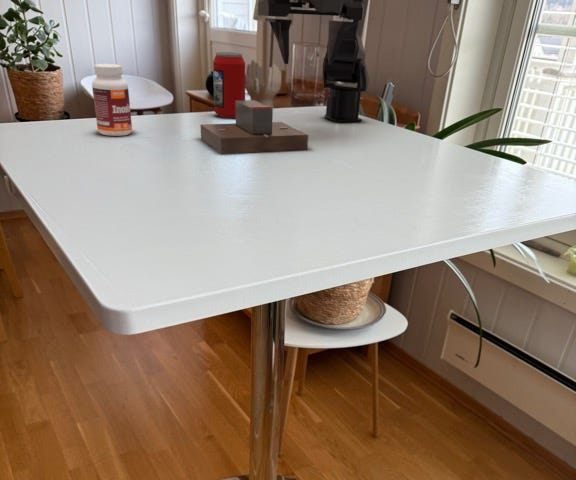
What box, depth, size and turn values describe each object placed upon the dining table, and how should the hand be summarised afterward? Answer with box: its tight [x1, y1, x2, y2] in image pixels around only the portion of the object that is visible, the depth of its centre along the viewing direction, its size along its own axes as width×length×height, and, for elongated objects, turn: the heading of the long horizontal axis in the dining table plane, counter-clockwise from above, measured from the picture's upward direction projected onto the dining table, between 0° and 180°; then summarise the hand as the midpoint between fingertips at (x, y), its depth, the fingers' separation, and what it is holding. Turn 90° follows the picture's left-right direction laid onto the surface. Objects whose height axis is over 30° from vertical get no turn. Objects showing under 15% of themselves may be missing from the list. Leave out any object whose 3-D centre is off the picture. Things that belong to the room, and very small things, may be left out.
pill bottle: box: [91, 63, 133, 137], centre depth 101 cm, size 6×6×11 cm
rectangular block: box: [235, 99, 274, 134], centre depth 99 cm, size 9×4×4 cm, turn 23°
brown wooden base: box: [200, 121, 309, 155], centre depth 101 cm, size 16×13×3 cm
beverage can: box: [212, 51, 246, 119], centre depth 121 cm, size 7×7×12 cm
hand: (308, 64), depth 106 cm, fingers open, 9 cm apart
